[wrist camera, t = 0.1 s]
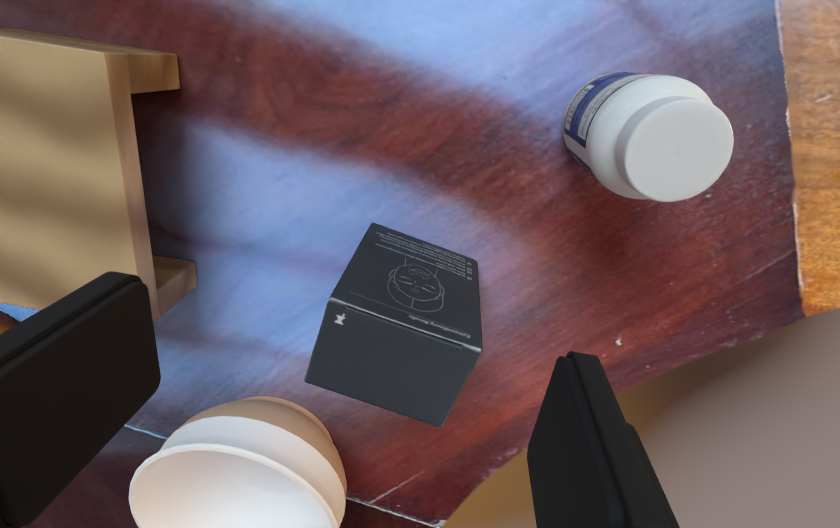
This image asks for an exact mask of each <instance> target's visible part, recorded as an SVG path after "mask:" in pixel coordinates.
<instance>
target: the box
mask: <svg viewBox="0 0 840 528" xmlns="http://www.w3.org/2000/svg"><path fill="white" fill-rule="evenodd" d="M482 350H483V348H482V329H481V313H480V295H479V281H478V264H477V261H475V260H473V259H471V258H468V257H466V256H463V255H460V254H457V253H455V252H452V251H449V250H446V249H444V248H441V247H438V246H436V245H433V244H430V243H427V242H425V241H422V240H419V239H417V238H414V237H411V236H408V235H406V234H403V233H400V232H398V231H395V230H392V229H389V228H387V227H384V226H381V225H378V224H375V223H372V224H371V225H370V227H369V229H368V230H367V232H366V234H365V235H364V237H363V239H362V241H361V242H360V244H359V246H358V248H357V250H356V251H355V253H354V255H353V257H352V259H351V260H350V262H349V264H348V266H347V268H346V270H345V271H344V273H343V275H342V277H341V278H340V280H339V282H338V284H337V285H336V287H335V289H334V291H333V293H332V294H331V296H330V298H329V300H328V303H327V306H326V310H325V313H324V317H323V320H322V324H321V327H320V330H319V334H318V337H317V340H316V343H315V346H314V349H313V352H312V356H311V360H310V363H309V366H308V369H307V372H306V375H305V379H304V381H305V382H306V383H309V384H313V385H316V386H319V387H322V388H325V389H328V390H331V391H333V392H337V393H339V394H342V395H345V396H348V397H351V398H354V399H357V400H360V401H363V402H366V403H369V404H372V405H375V406H378V407H381V408H384V409H387V410H390V411H393V412H396V413H399V414H402V415H405V416H408V417H411V418H414V419H417V420H420V421H423V422H426V423H428V424H431V425H434V426H437V427H439V428H441V427H442V426H443V424H444V422H445V420H446V418H447V417H448V415H449V413H450V411H451V409H452V407H453V405H454V403H455V401H456V399H457V398H458V396H459V394H460V392H461V390H462V388H463V386H464V384H465V382H466V380H467V379H468V377H469V375H470V373H471V371H472V370H473V368H474V366H475V364H476V362H477V361H478V359H479V357H480V355H481V353H482Z"/></svg>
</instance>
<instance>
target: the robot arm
mask: <svg viewBox="0 0 840 528" xmlns="http://www.w3.org/2000/svg"><path fill="white" fill-rule="evenodd" d="M160 379H161V375H160V368H159V361H158V354H157V347H156V340H155V333H154V326H153V319H152V312H151V304H150V297H149V290H148V287H147V285H146V284H144V283H143V282H142V280H141V278H140V277H138V276H137V275H132V274H126V273H120V272H114V271H109V272H106V273H104V274H102V275H101V276H99V277H97V278H95V279H94V280H92V281H90V282H89V283H87V284H85V285H83V286H82V287H80V288H78V289H77V290H75V291H73V292H71V293H70V294H68V295H66V296H65V297H63V298H61V299H60V300H58V301H56V302H54V303H53V304H51V305H49V306H48V307H46V308H44V309H42V310H41V311H39V312H37V313H36V314H34V315H32V316H31V317H29V318H27V319H25V320H24V321H22V322H20V323H19V324H17V325H15V326H13V327H12V328H10V329H8V330H7V331H5V332H3V333H2V334H0V528H20V527H21V526H25V525H28V524H29V523H31V522H32V521H34V520H35V519H36V518H37V517H38V516H39V515H40V514H41V513H42V512H43V510H44V509H45V508H46V507H47V506H48V505H49V504H50V503H51V502H52V501H53V500H54V499H55V498H56V497H57V496H58V495H59V494H60V492H61V491H62V490H63V489H64V488H65V487H66V486H67V485H68V484H69V483H70V482H71V481H72V480H73V479H74V478H75V477H76V476H77V474H78V473H79V472H80V471H81V470H82V469H83V468H84V467H85V466H86V465H87V464H88V463H89V462H90V461H91V460H92V459H93V458H94V456H95V455H96V454H97V453H98V452H99V451H100V450H101V449H102V448H103V447H104V446H105V445H106V444H107V443H108V442H109V441H110V440H111V438H112V437H113V436H114V435H115V434H116V433H117V432H118V431H119V430H120V429H121V428H122V427H123V426H124V425H125V424H126V423H127V422H128V420H129V419H130V418H131V417H132V416H133V415H134V414H135V413H136V412H137V411H138V410H139V409H140V408H141V407H142V406H143V405H144V404H145V403H146V401H147V400H148V399H149V398H150V397H151V396H152V395H153V394H154V393H155V392H156V390H157V388H158V387H159V384H160ZM527 461H528V468H529V475H530V482H531V489H532V496H533V504H534V511H535V517H536V524H537V528H680V527H679V525H678V523H677V521H676V518H675V516H674V514H673V512H672V510H671V507H670V505H669V503H668V501H667V498H666V496H665V494H664V491H663V489H662V487H661V485H660V483H659V480H658V478H657V476H656V474H655V472H654V469H653V467H652V465H651V463H650V460H649V458H648V456H647V454H646V451H645V449H644V447H643V445H642V442H641V440H640V438H639V436H638V433H637V432H636V430H635V428H634V427H633V426H632V425H630V424H628V423H626V421H625V419H624V416H623V414H622V411H621V409H620V407H619V404H618V402H617V400H616V397H615V395H614V393H613V390H612V388H611V386H610V384H609V381H608V379H607V377H606V374H605V372H604V370H603V367H602V365H601V363H600V360H599V358H598V357H597V356H595V355H589V354H583V353H578V352H572V351H570V352H569V353H568V354H567V355H566V357H562V356H560V357H559V358H558V359H557V361H556V364H555V367H554V370H553V373H552V376H551V379H550V382H549V385H548V388H547V391H546V394H545V397H544V400H543V403H542V406H541V409H540V412H539V415H538V418H537V421H536V424H535V427H534V430H533V433H532V436H531V439H530V442H529V445H528V453H527Z"/></svg>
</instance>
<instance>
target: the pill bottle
mask: <svg viewBox="0 0 840 528" xmlns="http://www.w3.org/2000/svg"><path fill="white" fill-rule="evenodd" d="M562 129H563V136H564V140H565V144H566V146H567V148H568V150H569V151H570V153H571V154H572V156H573V157H574V158H575V159H576V160H577V161H578V162H579V163H580V164H581V165H582V166H583V167H584V168H586V169H587V170H588V171H589V172H590V173H591V174H592V175H593V176H594V177H595V178H596V179H597V180H598V181H599V182H600V183H601V184H602V185H603V186H605V187H606V188H607V189H609V190H611V191H612V192H614V193H616V194H618V195H621V196H624V197H627V198H632V199H651V200H654V201H659V202H676V201H681V200H685V199H688V198H691V197H693V196H695V195H698V194H699V193H701V192H702V191H704V190H706V189H707V188H708V187H710V186H711V185H712V184H713V183H714V182H715V181H716V180H717V179H718V178H719V176H720V175H721V174H722V173H723V171H724V170H725V168H726V167H727V165H728V163H729V160H730V158H731V154H732V150H733V144H734V137H733V130H732V127H731V124H730V122H729V120H728V118H727V117H726V115H725V114H724V113H723V112H722V111H721V110H720V109H719V108H717V107H716V106H714V105H713V103H712V102H711V100H710V98H709V97H708V96H707V94H706V93H705V92H704V91H703V90H702V89H701V88H699V87H698V86H697V85H695V84H694V83H692V82H690V81H688V80H685V79H682V78H679V77H675V76H670V75H655V74H641V73H628V72H618V73H609V74H605V75H602V76H599V77H597V78H595V79H593V80H591V81H589V82H588V83H586V84H585V85H584V86H583V87H581V88H580V89H579V90H578V92H577V93H576V94H575V95H574V96H573V98H572V99H571V101H570V103H569V104H568V107H567V109H566V111H565V115H564V119H563V126H562Z"/></svg>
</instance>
